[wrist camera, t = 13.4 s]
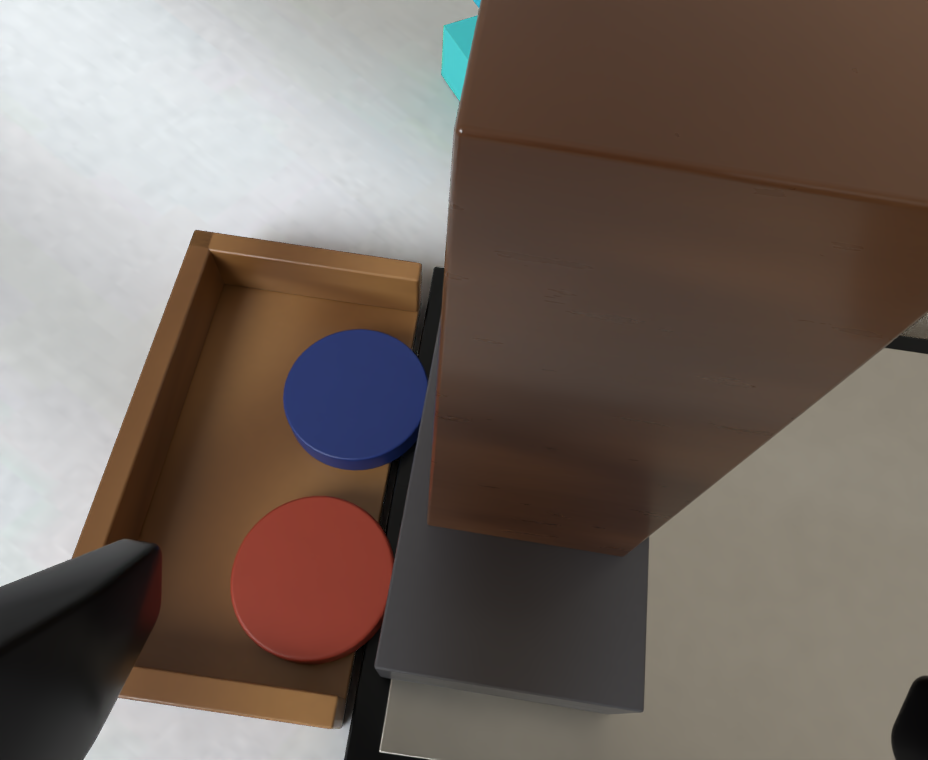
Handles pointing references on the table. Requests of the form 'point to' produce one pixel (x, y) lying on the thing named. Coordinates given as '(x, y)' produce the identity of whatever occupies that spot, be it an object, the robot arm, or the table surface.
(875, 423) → the whiteboard
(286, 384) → the disc
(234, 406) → the tray
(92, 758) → the table surface
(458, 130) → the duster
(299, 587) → the disc
